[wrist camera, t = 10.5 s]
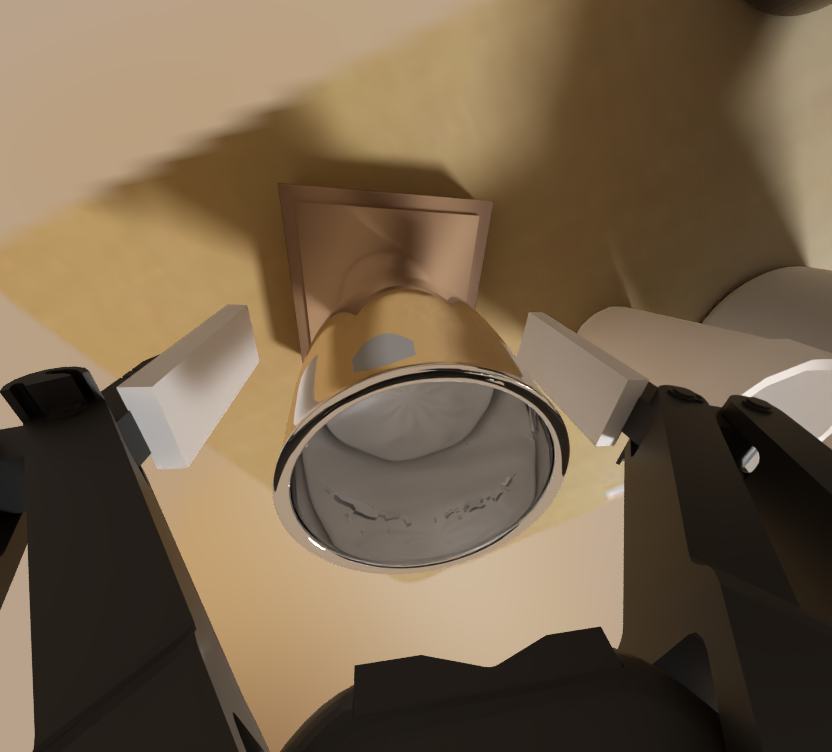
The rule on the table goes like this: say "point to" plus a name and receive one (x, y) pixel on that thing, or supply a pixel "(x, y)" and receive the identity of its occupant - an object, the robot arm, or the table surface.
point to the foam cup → (720, 363)
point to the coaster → (376, 242)
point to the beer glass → (413, 430)
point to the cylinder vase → (781, 308)
